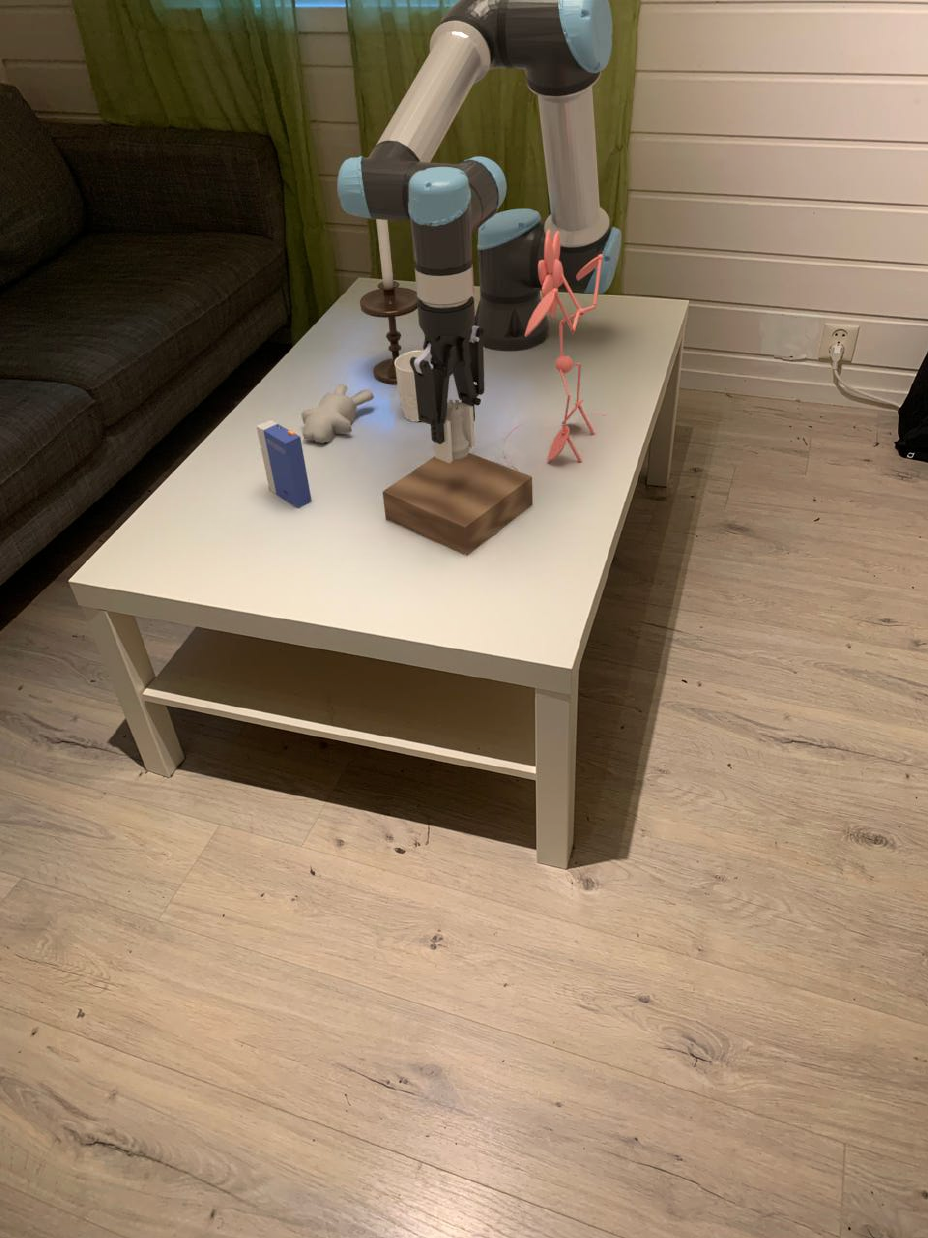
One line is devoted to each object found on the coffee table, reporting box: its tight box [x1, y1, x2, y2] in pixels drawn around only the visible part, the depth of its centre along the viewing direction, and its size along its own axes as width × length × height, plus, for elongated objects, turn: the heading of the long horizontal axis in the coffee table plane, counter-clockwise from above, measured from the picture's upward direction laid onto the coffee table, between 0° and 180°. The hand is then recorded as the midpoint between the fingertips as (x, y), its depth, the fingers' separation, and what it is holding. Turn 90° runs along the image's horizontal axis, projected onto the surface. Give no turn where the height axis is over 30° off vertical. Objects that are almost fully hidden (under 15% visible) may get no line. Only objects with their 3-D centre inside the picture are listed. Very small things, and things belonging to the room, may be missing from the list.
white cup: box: [394, 350, 424, 422], centre depth 175 cm, size 8×8×10 cm
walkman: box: [256, 419, 312, 509], centre depth 156 cm, size 8×3×12 cm, turn 44°
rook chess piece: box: [446, 399, 471, 460], centre depth 144 cm, size 4×4×8 cm
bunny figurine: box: [300, 383, 375, 444], centre depth 175 cm, size 10×5×15 cm
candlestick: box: [359, 219, 419, 385], centre depth 179 cm, size 11×11×35 cm
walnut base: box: [382, 452, 533, 556], centre depth 152 cm, size 16×16×5 cm
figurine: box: [500, 229, 607, 471], centre depth 157 cm, size 15×26×35 cm, turn 162°
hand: (455, 451), depth 147 cm, fingers closed on rook chess piece, 4 cm apart
